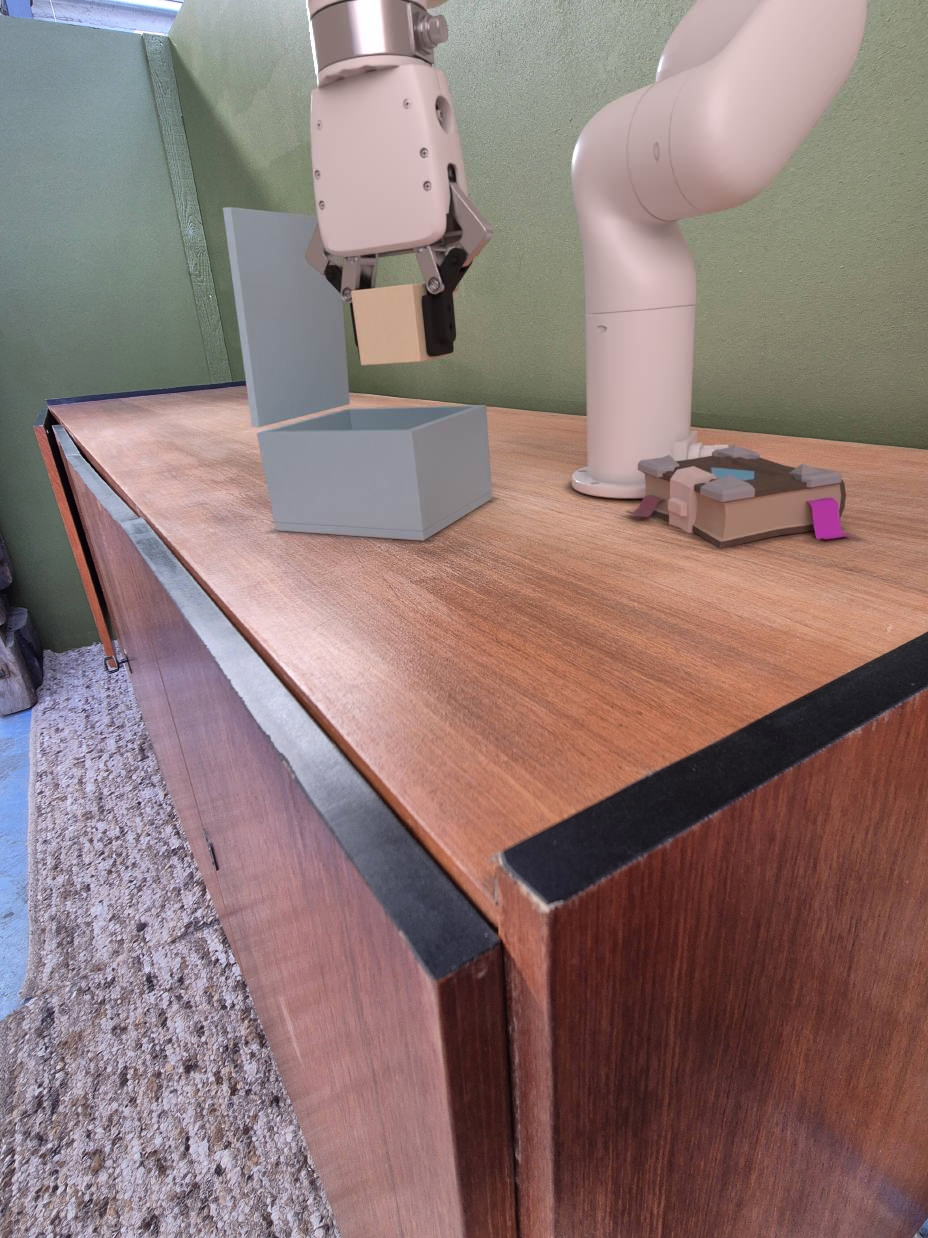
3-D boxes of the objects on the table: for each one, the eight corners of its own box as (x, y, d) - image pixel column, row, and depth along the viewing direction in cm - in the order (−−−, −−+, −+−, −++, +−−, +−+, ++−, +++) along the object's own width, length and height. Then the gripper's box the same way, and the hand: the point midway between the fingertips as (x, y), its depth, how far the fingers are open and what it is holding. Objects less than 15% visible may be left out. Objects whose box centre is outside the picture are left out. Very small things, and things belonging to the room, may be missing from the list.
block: (451, 355, 54) (445, 282, 52) (420, 361, 50) (411, 283, 48) (395, 358, 56) (386, 289, 54) (360, 365, 52) (350, 290, 50)
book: (590, 502, 65) (589, 447, 63) (707, 483, 68) (710, 430, 66) (716, 565, 48) (720, 492, 46) (868, 537, 50) (879, 466, 48)
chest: (492, 498, 69) (486, 404, 65) (423, 541, 58) (411, 430, 54) (359, 493, 76) (347, 408, 72) (275, 530, 65) (256, 432, 61)
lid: (336, 218, 65) (296, 220, 67) (230, 206, 54) (185, 209, 56) (350, 403, 72) (313, 401, 74) (258, 427, 61) (218, 423, 63)
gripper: (517, 40, 45) (531, 345, 53) (302, 97, 53) (340, 358, 60) (467, 4, 39) (491, 355, 46) (231, 74, 46) (284, 368, 54)
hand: (406, 354), depth 53 cm, fingers closed on block, 5 cm apart
